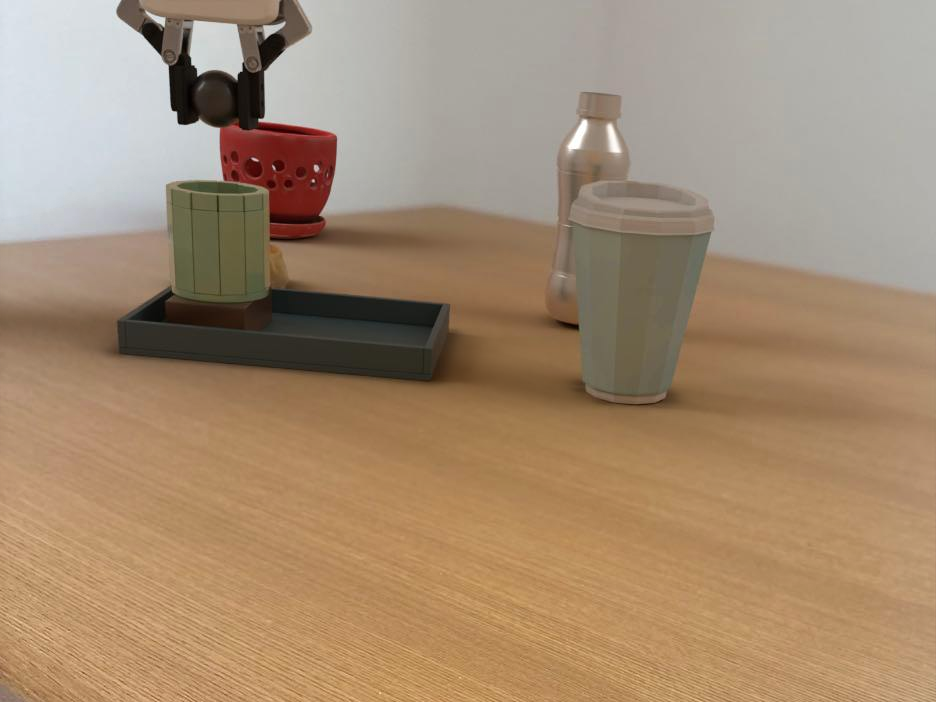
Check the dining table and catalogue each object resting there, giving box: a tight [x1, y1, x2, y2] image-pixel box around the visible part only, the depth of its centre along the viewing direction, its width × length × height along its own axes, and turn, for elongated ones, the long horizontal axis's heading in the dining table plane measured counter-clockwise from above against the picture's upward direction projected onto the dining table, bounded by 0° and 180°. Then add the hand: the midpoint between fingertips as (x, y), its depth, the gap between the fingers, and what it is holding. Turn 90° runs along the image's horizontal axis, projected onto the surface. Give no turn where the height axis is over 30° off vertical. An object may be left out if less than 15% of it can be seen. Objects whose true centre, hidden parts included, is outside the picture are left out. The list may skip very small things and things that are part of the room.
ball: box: [190, 69, 239, 129], centre depth 83 cm, size 4×4×4 cm
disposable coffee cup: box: [568, 180, 716, 405], centre depth 83 cm, size 11×11×15 cm
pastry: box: [270, 244, 289, 289], centre depth 106 cm, size 9×7×4 cm
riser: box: [165, 284, 272, 331], centre depth 90 cm, size 6×9×3 cm, turn 179°
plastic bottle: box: [544, 91, 631, 327], centre depth 101 cm, size 6×7×20 cm
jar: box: [165, 179, 271, 303], centre depth 88 cm, size 7×7×8 cm
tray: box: [116, 284, 451, 382], centre depth 90 cm, size 23×15×2 cm, turn 89°
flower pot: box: [218, 121, 338, 240], centre depth 131 cm, size 13×13×12 cm
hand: (218, 123), depth 84 cm, fingers closed on ball, 3 cm apart
